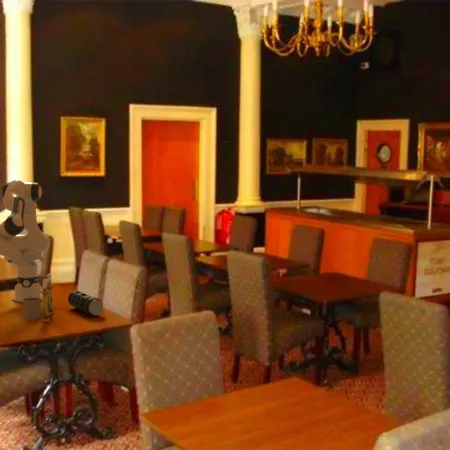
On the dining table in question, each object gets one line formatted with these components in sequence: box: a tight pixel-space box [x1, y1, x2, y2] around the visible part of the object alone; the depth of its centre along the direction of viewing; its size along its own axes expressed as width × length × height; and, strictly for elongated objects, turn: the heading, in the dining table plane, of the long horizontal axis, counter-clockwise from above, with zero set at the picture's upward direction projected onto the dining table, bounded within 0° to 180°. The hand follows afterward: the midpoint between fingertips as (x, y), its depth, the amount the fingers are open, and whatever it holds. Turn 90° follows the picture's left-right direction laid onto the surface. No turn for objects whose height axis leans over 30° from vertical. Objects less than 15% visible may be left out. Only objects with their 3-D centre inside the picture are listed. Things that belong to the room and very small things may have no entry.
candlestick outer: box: [40, 278, 51, 323], centre depth 360 cm, size 4×4×22 cm
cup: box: [23, 297, 41, 321], centre depth 368 cm, size 8×8×10 cm
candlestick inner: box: [46, 273, 55, 316], centre depth 376 cm, size 4×4×22 cm
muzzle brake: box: [67, 290, 104, 317], centre depth 380 cm, size 10×28×10 cm, turn 35°
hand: (39, 262), depth 370 cm, fingers open, 8 cm apart
